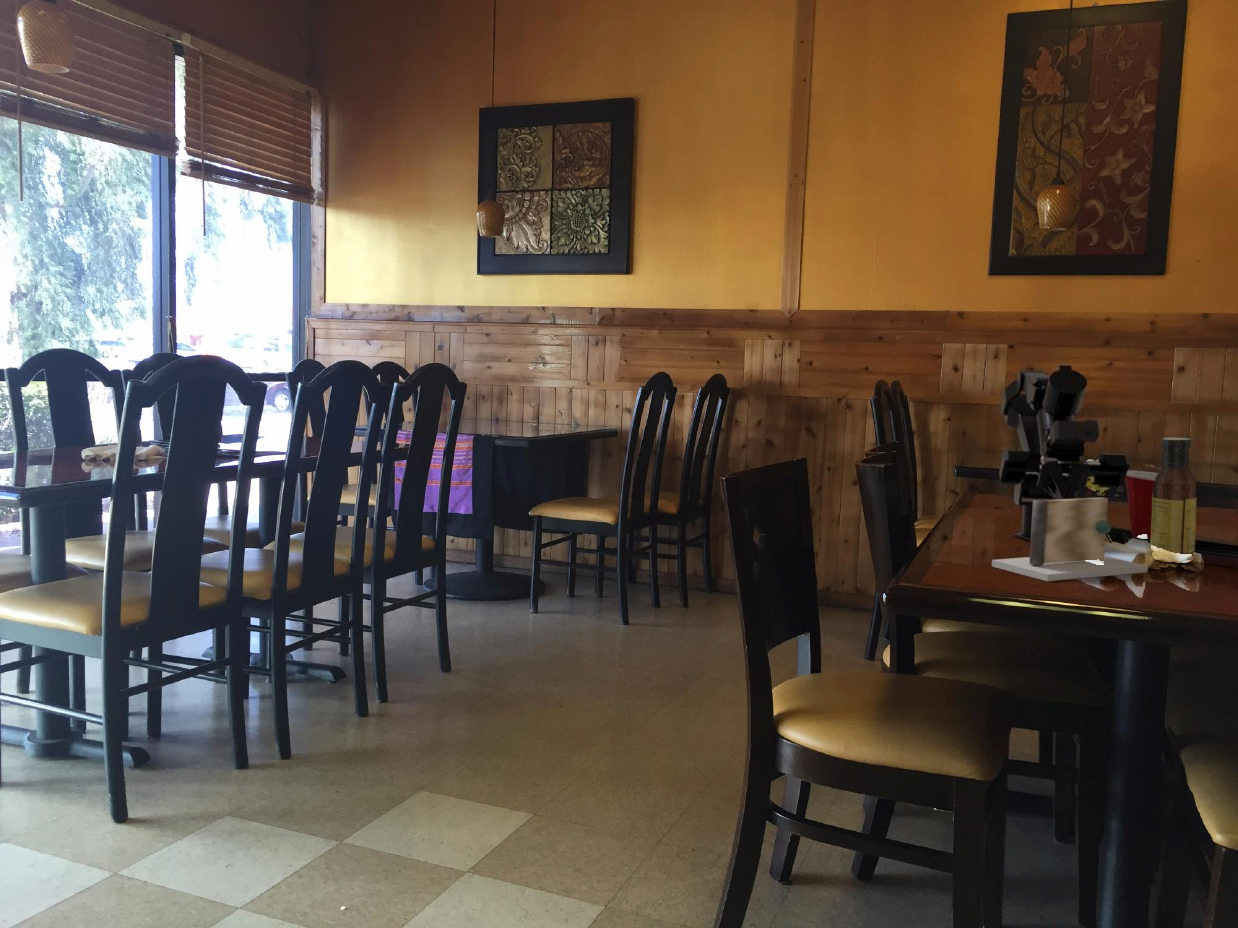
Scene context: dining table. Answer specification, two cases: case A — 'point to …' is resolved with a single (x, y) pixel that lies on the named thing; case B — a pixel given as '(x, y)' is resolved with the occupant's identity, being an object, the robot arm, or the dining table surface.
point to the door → (1068, 530)
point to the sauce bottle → (1174, 499)
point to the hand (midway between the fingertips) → (1068, 509)
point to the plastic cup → (1140, 501)
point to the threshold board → (1069, 568)
